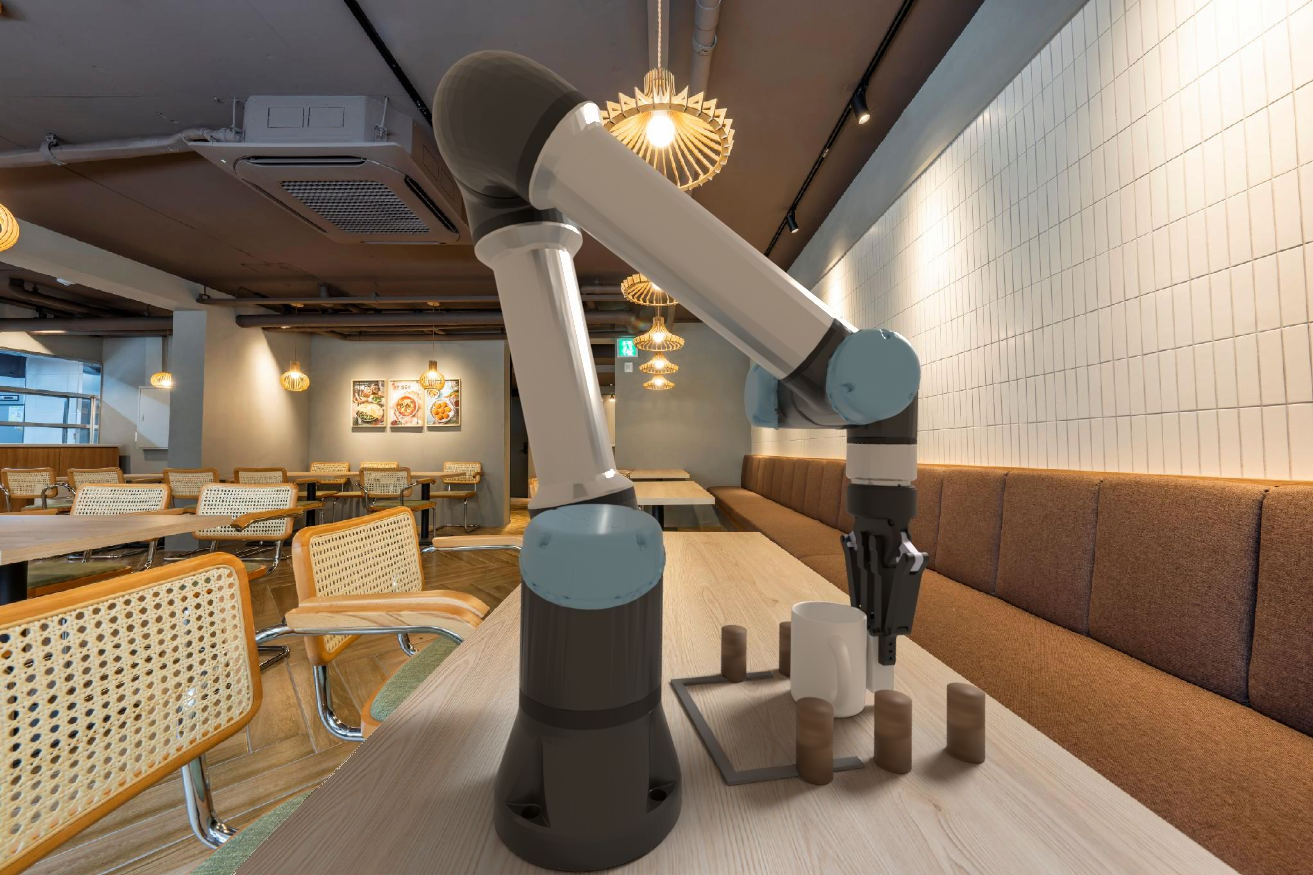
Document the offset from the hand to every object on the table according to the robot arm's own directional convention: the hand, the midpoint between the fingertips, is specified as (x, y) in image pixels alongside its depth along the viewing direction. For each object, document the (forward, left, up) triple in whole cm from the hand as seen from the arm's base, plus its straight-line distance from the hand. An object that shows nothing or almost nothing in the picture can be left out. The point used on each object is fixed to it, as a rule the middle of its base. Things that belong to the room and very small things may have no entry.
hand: (879, 688), depth 59 cm
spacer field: (-6, 0, -2) cm, 6 cm away
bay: (-15, 0, -2) cm, 15 cm away
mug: (-6, 0, -2) cm, 6 cm away
